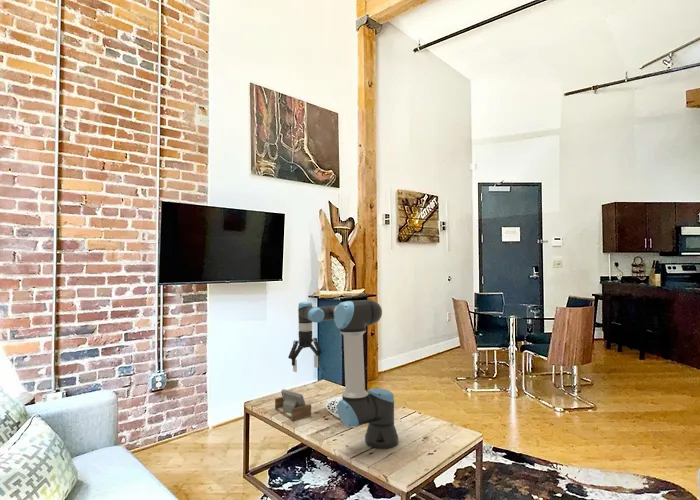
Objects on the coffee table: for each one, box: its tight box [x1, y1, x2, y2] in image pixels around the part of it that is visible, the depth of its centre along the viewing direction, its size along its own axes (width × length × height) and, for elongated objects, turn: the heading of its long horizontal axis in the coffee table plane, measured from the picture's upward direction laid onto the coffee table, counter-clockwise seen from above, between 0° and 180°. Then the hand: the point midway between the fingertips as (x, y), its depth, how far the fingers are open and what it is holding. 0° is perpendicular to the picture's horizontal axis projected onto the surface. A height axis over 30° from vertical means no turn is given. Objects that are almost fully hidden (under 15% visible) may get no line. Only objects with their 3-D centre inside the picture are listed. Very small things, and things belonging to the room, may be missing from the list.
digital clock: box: [281, 388, 307, 414], centre depth 222 cm, size 16×9×11 cm, turn 39°
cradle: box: [274, 396, 312, 422], centre depth 222 cm, size 20×11×6 cm, turn 36°
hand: (305, 369), depth 223 cm, fingers open, 13 cm apart
